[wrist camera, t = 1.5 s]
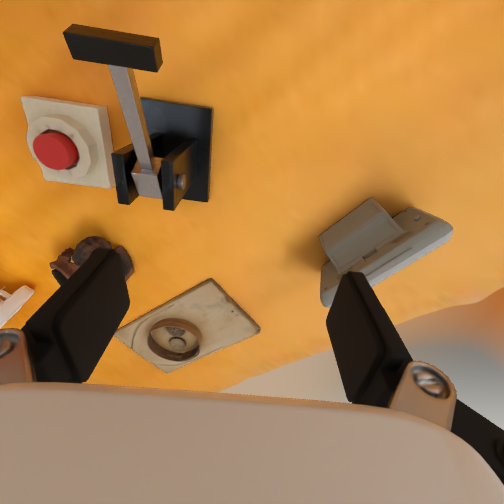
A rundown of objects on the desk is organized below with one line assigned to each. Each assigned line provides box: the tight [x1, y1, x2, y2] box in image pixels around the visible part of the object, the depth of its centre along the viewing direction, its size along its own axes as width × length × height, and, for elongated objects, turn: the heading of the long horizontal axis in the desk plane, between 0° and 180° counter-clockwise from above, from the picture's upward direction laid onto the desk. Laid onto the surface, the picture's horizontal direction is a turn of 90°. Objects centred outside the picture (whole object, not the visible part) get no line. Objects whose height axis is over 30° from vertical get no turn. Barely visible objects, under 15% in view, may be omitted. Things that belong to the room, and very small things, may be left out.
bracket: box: [111, 97, 213, 211], centre depth 27 cm, size 11×8×12 cm
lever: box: [63, 24, 163, 199], centre depth 20 cm, size 12×5×2 cm, turn 173°
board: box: [114, 279, 261, 373], centre depth 49 cm, size 25×15×3 cm, turn 125°
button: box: [33, 132, 78, 170], centre depth 28 cm, size 4×4×2 cm
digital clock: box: [319, 197, 453, 308], centre depth 34 cm, size 16×9×11 cm, turn 123°
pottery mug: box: [50, 236, 134, 286], centre depth 39 cm, size 12×10×8 cm
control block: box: [20, 96, 116, 189], centre depth 30 cm, size 9×8×4 cm
